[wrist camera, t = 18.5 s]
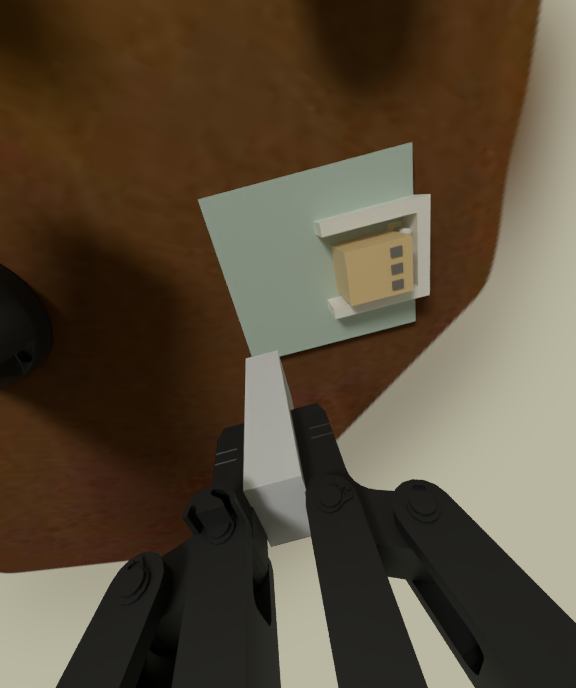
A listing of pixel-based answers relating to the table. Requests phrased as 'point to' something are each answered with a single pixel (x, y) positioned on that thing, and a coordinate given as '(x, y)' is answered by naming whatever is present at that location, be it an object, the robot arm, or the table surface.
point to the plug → (373, 266)
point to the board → (316, 249)
